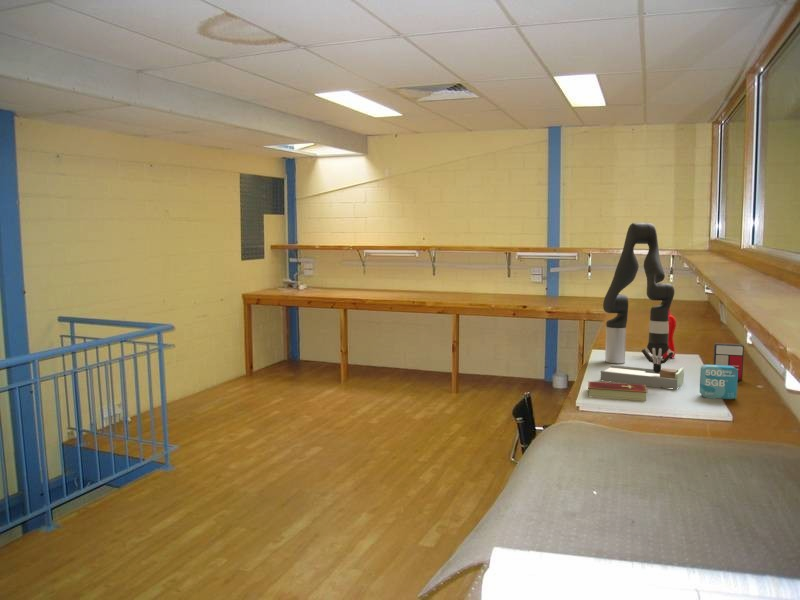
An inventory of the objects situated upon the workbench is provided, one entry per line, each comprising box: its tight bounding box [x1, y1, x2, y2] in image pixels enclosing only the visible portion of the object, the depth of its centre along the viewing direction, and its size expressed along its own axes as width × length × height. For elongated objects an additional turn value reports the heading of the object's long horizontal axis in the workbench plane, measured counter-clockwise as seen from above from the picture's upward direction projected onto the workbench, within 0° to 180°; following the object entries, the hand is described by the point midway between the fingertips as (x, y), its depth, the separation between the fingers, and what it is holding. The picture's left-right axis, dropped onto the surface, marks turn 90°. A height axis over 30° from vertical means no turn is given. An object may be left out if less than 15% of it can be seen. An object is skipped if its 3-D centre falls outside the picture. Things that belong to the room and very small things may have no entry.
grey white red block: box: [712, 342, 745, 381], centre depth 267 cm, size 11×4×15 cm, turn 70°
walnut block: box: [660, 367, 679, 379], centre depth 257 cm, size 6×6×3 cm
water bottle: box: [657, 308, 677, 359], centre depth 318 cm, size 9×11×25 cm
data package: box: [699, 364, 739, 400], centre depth 235 cm, size 12×4×12 cm, turn 76°
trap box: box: [600, 364, 685, 390], centre depth 263 cm, size 17×30×6 cm, turn 57°
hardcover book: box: [587, 381, 648, 402], centre depth 239 cm, size 12×21×4 cm, turn 73°
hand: (656, 372), depth 259 cm, fingers closed
